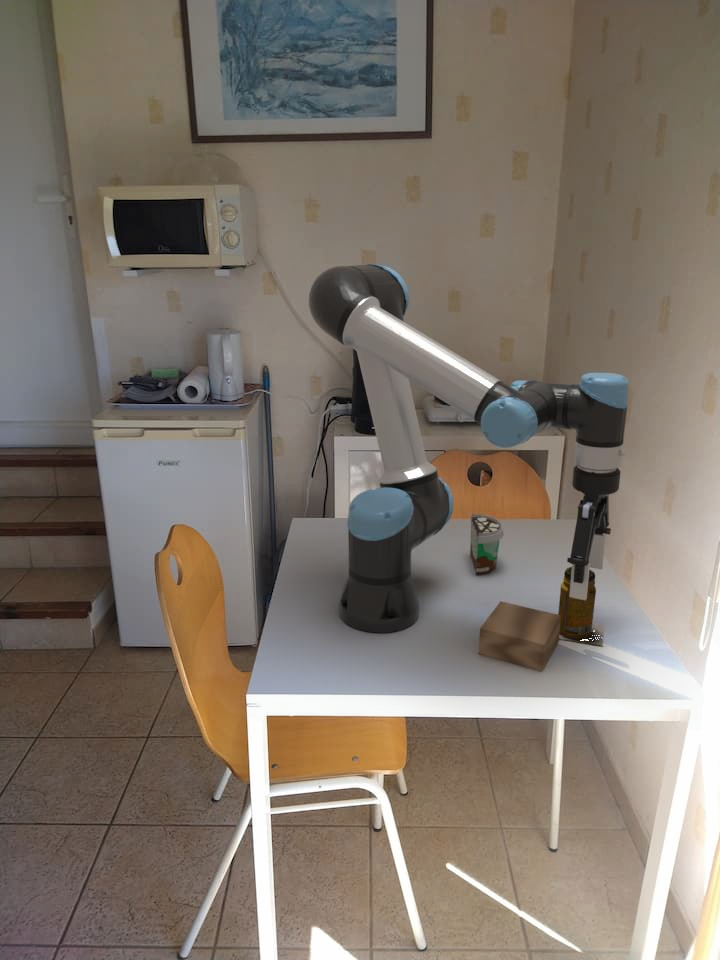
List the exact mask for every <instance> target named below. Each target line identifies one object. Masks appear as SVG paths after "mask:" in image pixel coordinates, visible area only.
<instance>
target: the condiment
mask: <svg viewBox="0 0 720 960" xmlns="http://www.w3.org/2000/svg"><path fill="white" fill-rule="evenodd" d="M571 571H572V566H569V567H567V568H566V569H565V571H564V576H563V581H562V582H561V585H560V594H559V603H558V614H557V615H561V623H560V632H559V640H564V641H568V642H576V643H584V644H588V645H596V646H602V647H603V646H604V643H603V642H604V632H605V630H604V629H605V626H603V625H596V624H594V623H593V620H594V612H595V602H596V593H597V588H596V586H595V584H596V573H595V572H594V571H593V570H592V569H590V568H589V579H588V589H587V599H586V600H581V599H576V598H572V597H569V595H570V583H571ZM591 630H595V632H593V631H591ZM603 630H604V631H603ZM592 635H593V636H592ZM594 635H595V636H594ZM596 635H597V636H596ZM598 635H600V636H598ZM595 637H596V639H597V637H598V639H599V640H598V639H597V640H596V639H595ZM599 637H600V638H599ZM601 637H603V639H602V638H601ZM589 638H592V639H589ZM582 639H588V640H589V641H585V640H584V641H580V640H582ZM593 639H594V640H593ZM592 640H593V641H592Z"/></svg>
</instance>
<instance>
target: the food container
mask: <svg viewBox="0 0 720 960" xmlns="http://www.w3.org/2000/svg"><path fill="white" fill-rule="evenodd" d="M470 523H471V524H470V547H469V549H470V550H469V554H470V555H469V558H470V561H471V564H472V568H473V572H474V575H475V576H482V575H488V574H491V573H493V572H494V571H495V570H496V568H497V561H498V556H499V555H498V554H499V547H500V540H501V539H502V538H503V537H504V528H503V525H502V523H501V521H499V519H497V518H495V517H493V516H489V515H485V514H478V513H471V517H470Z"/></svg>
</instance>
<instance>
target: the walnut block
mask: <svg viewBox="0 0 720 960" xmlns="http://www.w3.org/2000/svg"><path fill="white" fill-rule="evenodd" d="M560 623H561V615H558V614H556V613H553V612H552V613H551V612H547V611H544V610H539V609H535V608H531V607H528V606H527V607H526V606H522V605H518V604H515V603H510V602H506V601H502V600H501V601H499V602H498V604H497V605H496V607H495V608H494V609H493V610H492V612H491V613H490V614H489V616H488V617H487V618H486V620H485V621H484V622H483V623H482V625H481V626H480V628H479V641H478V642H479V643H478V655H481V656H485V657H489V658H492V659H496V660H500V661H503V662H507V663H510V664H513V665H518V666H521V667H525V668H528V669H532V670H536V671H539V672H544V669H545V667H546V665H547V664H548V662H549V659H550V658H551V656H552V654H553V652H554V650H555V648H556V647H557V645H558V643H559V641H560V639H559V632H560Z"/></svg>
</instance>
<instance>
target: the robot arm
mask: <svg viewBox="0 0 720 960" xmlns="http://www.w3.org/2000/svg"><path fill="white" fill-rule="evenodd" d="M310 287H311V288H310V290H309V294H308V306H309V311H310V314H311V317H312V318H313V321H314V322H315V324H316V325H318V327H319V328H320V329H321V331H323V332H324V333H325V334H327V335H328V336H330V337H331V338H333V339H334V340H335V341H337V342H338V343H340V344H342V345H343V346H345V347H346V348H348V349H353V350H355V351H356V354H357V358H358V362H359V363H358V364H359V366H360V371H361V375H362V380H363V385H364V388H365V392H366V396H367V397H366V398H367V401H368V405H369V410H370V415H371V419H372V424H373V426H374V432H375V437H376V440H377V444H378V448H379V452H380V453H379V454H380V458H381V461H382V467H383V473H382V475H381V476H380V478H379V480H378V482H379V486H380V487H376V488H375V489H371V488H370V489H367V490H365V491H362V492H360V493H359V494H357V495H356V496H355V497H354V498H353V499H352V500H351V502H350V504H349V507H348V515H347V528H348V530H347V531H348V533H347V534H348V537H347V538H348V576H347V580H346V581H345V582H346V583H345V586H344V588H343V591H342V593H341V597H340V600H339V616H340V619H341V620H342V621H343V622H344V623H345V624H346V625H348V626H349V627H352V628H353V629H356V630H359V631H363V632H368V633H378V634H379V633H393V632H397V631H402V630H404V629H407V628H408V627H411V626H412V625H413V624H415V623H416V622H417V620H418V619H419V616H420V601H419V598H418V595H417V591H416V589H415V586H414V582H413V580H412V575H411V574H412V571H411V570H412V551H413V550H414V549H416V548H417V547H418V546H420V545H422V543H424V542H425V541H426V540H428V539H430V538H431V537H433V536H435V535H436V534H438V533H439V532H440V531H442V529H443V528H444V527H445V526H446V525H447V523H449V520H450V519H451V518H452V515H453V511H454V507H455V505H454V503H455V502H454V496H453V493H452V490H451V488H450V486H449V485H448V483H447V482H445V481H443V478H441V477H439V474H438V469H437V467H436V466H435V465H433V464H432V463H430V462H429V461H428V459H427V455H426V451H425V446H424V441H423V438H422V434H421V429H420V425H419V424H420V423H419V420H418V415H417V412H416V407H415V402H414V401H415V400H414V398H413V397H414V395H413V392H412V388H411V387H412V386H411V384H410V381H411V382H413V383H414V384H416V385H418V386H419V387H420V388H423V389H424V390H425V391H427V392H429V393H430V394H431V395H434V396H435V397H436V398H438V399H439V400H441V401H443V402H444V403H445V404H448V405H449V406H450V407H452V408H454V409H455V410H457V411H458V412H460V413H462V414H463V415H464V416H466V417H468V418H469V419H471V420H472V421H474V422H476V424H479V425H480V427H481V432H482V433H483V435H484V437H485V438H486V439H487V441H488V442H490V443H491V444H492V445H493V446H495V447H499V448H503V449H505V448H512V447H516V446H519V445H521V444H524V443H526V442H527V441H529V440H530V439H531V438H533V436H535V435H536V434H538V433H540V432H542V431H543V430H545V429H547V428H556V429H563V430H569V431H570V430H575V431H576V432H575V434H576V435H575V445H574V454H573V455H574V457H573V463H574V464H575V466H574V467H573V474H572V483H571V484H572V488H573V489H574V490H576V491H578V492H580V493H582V494H583V499H581V500H580V502H579V504H578V505H577V516H576V517H577V518H576V524H575V529H574V534H573V535H574V536H573V541H572V547H571V551H570V557H567V561H566V562H567V563H569V564H570V565H571V567H572V571H571V583H570V595H569V597H572V598H576V599H581V600H586V599H587V589H588V579H589V569H590V568H591V569H597V570H603V567H604V557H605V548H606V546H605V545H606V537H607V535H611V531H612V529H611V527H609V526H610V520H609V519H610V518H609V517H610V515H609V513H610V510H609V509H610V508H609V507H610V505H609V503H610V502H609V497H610V495H613V494H615V493H617V492H618V491H619V489H620V482H621V470H620V467H621V466H622V460H623V459H622V458H623V457H625V456H626V455H627V451H626V450H625V449H622V448H623V447H624V439H625V438H624V437H625V429H626V421H627V413H628V406H629V397H628V396H629V381H628V379H627V378H626V377H625V376H624V375H621V374H618V373H611V372H588V373H584V374H583V375H582V376H581V377H580V382H579V383H576V384H568V383H561V382H551V381H550V382H549V381H538V380H535V379H530V380H522V379H521V380H515V381H513V382H512V383H510V385H508V384H506V383H505V382H503V381H501V380H500V379H499V378H497V377H495V376H494V375H492V374H490V373H488V372H487V371H485V370H484V369H482V368H480V367H479V366H478V365H475V363H472V362H471V361H469V360H468V359H465V358H464V357H462V356H461V355H459V354H457V353H456V352H454V351H452V350H451V349H449V348H447V346H445V345H442V344H441V343H439V342H438V341H436V340H435V339H432V338H431V337H429V336H427V335H426V334H424V333H423V332H421V331H420V330H418V329H416V328H415V327H413V326H411V325H410V324H408V323H406V322H405V320H404V319H405V318H404V317H405V316H406V312H407V310H408V309H409V305H410V294H409V289H408V286H407V283H406V282H405V280H404V279H403V277H402V276H401V275H400V273H398V272H397V271H396V270H394V269H393V268H391V267H388V266H385V265H379V264H375V263H369V264H360V265H359V264H358V265H357V264H356V265H339V266H337V265H336V266H333V267H331V268H328V269H326V270H325V271H322V273H320V274H319V275H317V277H316V278H315V280H314V281H313V283H312V285H311V286H310Z"/></svg>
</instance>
